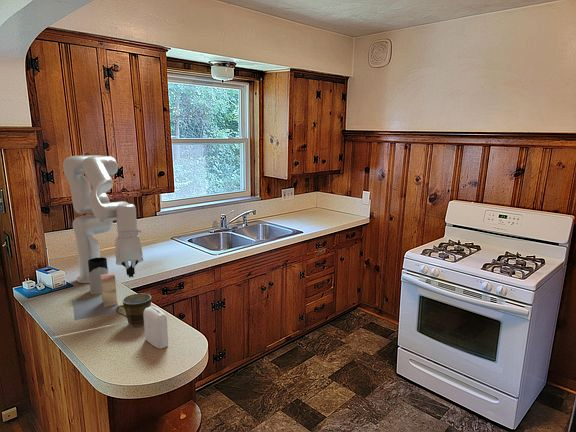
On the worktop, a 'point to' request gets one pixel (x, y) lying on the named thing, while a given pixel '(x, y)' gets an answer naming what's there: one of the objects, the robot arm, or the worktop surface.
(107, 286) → the maple block
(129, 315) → the ceramic cup
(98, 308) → the rubber mat
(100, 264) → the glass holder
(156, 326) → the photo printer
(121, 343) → the worktop surface
